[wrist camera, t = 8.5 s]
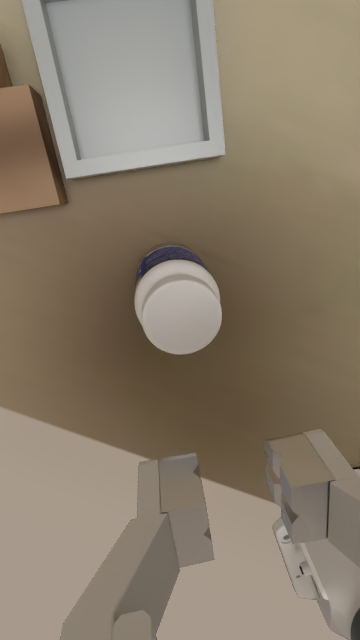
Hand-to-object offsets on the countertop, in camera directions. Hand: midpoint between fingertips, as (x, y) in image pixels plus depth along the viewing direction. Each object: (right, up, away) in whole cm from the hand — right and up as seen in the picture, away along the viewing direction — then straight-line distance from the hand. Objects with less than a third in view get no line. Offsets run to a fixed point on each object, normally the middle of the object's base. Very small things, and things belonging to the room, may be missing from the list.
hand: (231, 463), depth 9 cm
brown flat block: (-14, +15, +15) cm, 26 cm away
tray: (-5, +20, +14) cm, 25 cm away
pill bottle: (-2, +8, +20) cm, 21 cm away
